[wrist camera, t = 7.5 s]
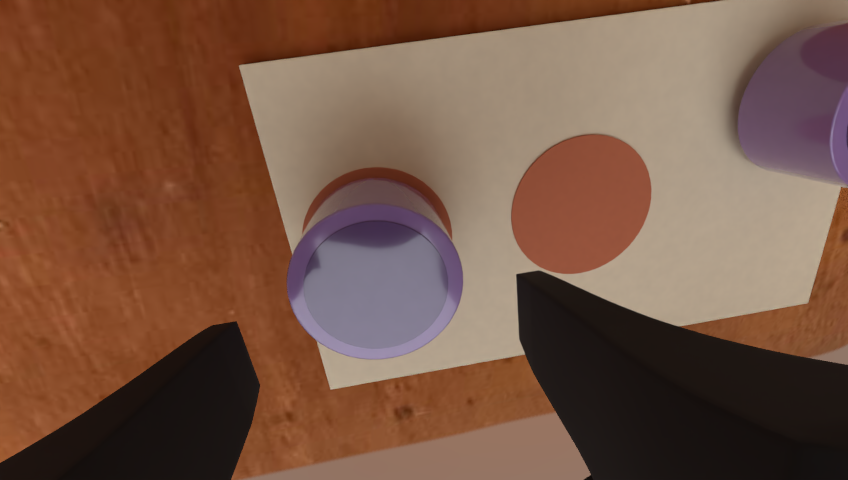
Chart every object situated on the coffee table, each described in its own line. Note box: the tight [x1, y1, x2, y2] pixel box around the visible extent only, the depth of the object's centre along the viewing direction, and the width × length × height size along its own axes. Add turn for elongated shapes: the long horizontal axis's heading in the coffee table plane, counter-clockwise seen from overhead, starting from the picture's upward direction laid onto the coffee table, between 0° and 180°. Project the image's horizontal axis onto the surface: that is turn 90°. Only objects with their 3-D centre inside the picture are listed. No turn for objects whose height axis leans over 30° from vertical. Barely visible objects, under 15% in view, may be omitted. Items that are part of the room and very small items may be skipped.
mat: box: [239, 0, 848, 389], centre depth 16 cm, size 24×14×1 cm, turn 97°
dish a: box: [287, 178, 463, 360], centre depth 14 cm, size 5×5×4 cm
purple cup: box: [737, 19, 848, 188], centre depth 14 cm, size 5×5×4 cm
